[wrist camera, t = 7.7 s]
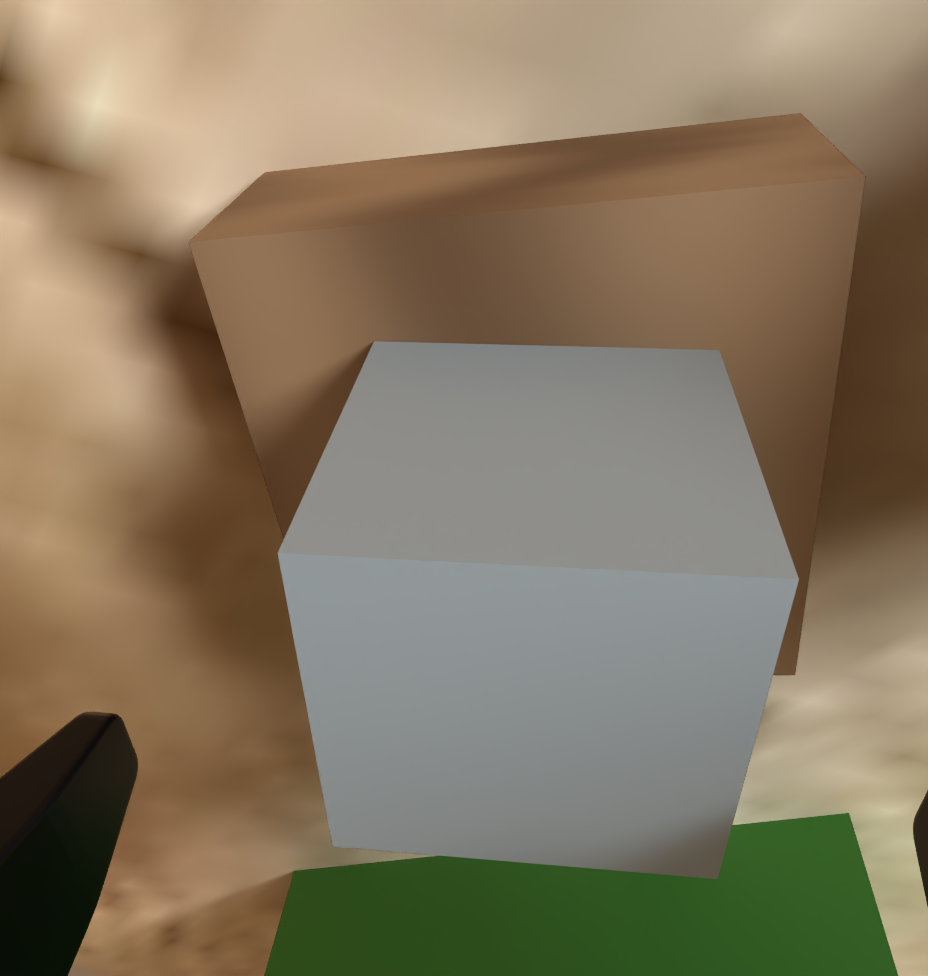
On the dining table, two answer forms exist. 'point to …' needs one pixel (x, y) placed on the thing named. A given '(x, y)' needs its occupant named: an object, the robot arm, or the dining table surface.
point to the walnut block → (551, 281)
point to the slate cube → (538, 606)
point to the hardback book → (596, 915)
